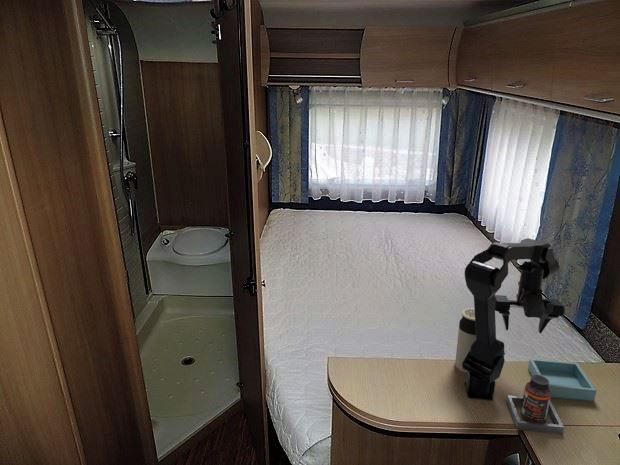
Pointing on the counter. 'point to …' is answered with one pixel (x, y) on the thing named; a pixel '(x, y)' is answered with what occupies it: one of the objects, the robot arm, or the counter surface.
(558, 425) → the collar
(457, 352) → the travel mug
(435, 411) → the counter surface
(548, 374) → the bin
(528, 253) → the robot arm
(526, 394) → the supplement bottle
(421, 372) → the counter surface
